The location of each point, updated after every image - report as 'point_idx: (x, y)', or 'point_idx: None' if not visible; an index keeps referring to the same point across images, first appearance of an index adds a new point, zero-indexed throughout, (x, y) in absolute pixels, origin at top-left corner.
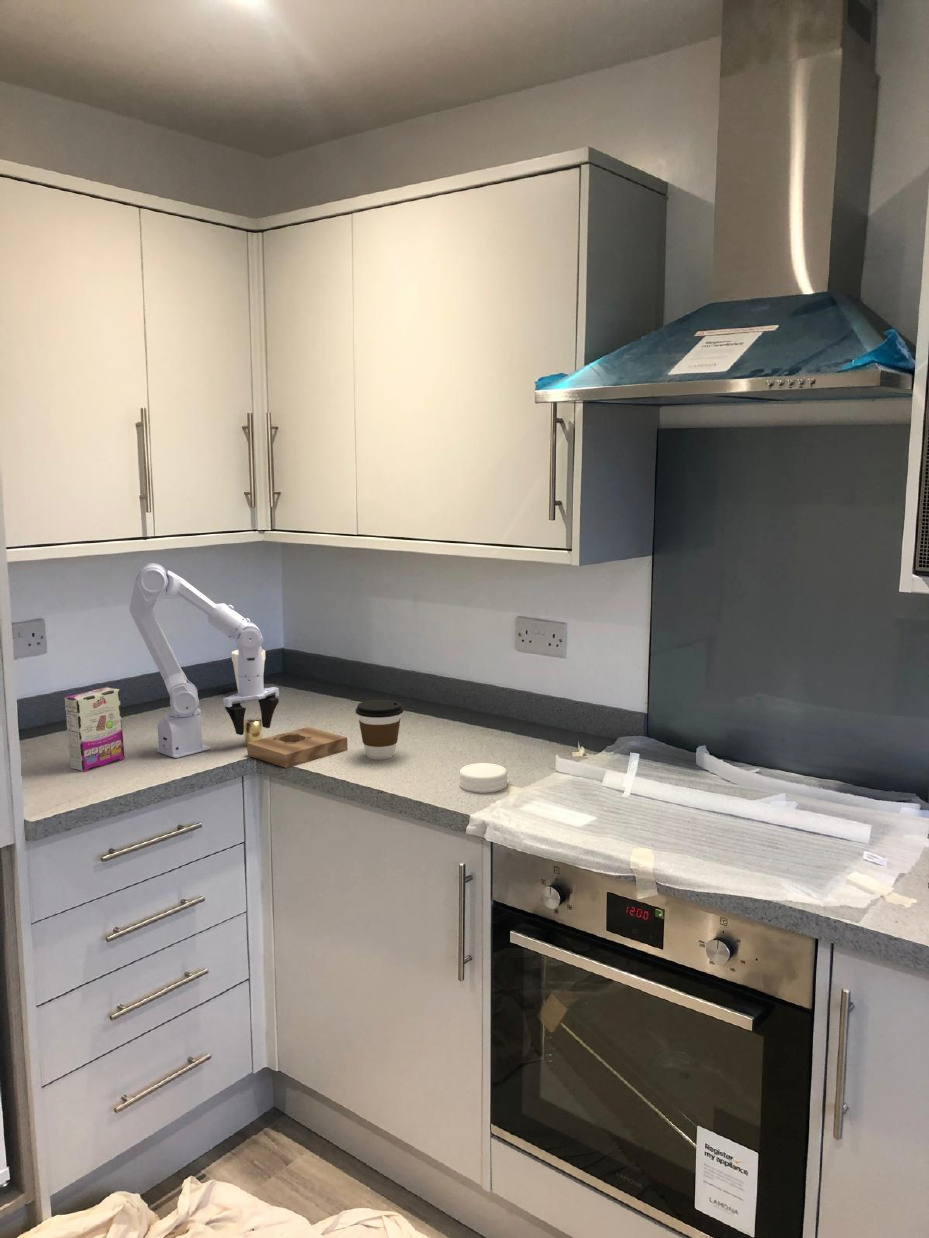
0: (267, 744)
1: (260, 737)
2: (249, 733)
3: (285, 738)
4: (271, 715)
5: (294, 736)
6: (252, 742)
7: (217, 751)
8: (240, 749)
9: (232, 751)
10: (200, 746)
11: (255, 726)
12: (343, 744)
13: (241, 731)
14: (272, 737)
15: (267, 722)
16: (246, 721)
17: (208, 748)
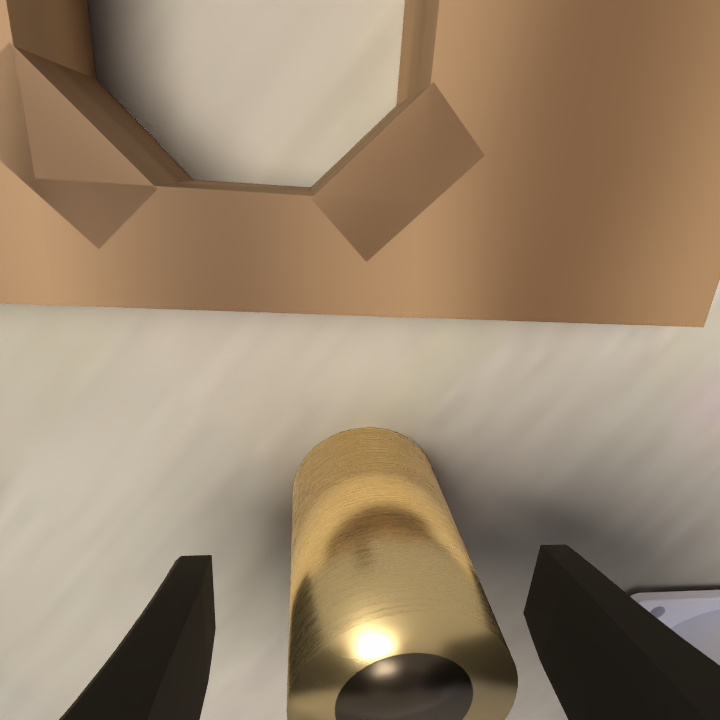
0: (668, 44)
1: (345, 476)
2: (462, 544)
3: (218, 187)
4: (113, 688)
5: (88, 112)
6: (670, 288)
7: (630, 536)
8: (511, 465)
9: (582, 467)
10: (704, 632)
11: (434, 571)
12: None
13: (593, 568)
14: (384, 267)
15: (195, 617)
16: (484, 709)
17: (651, 599)
